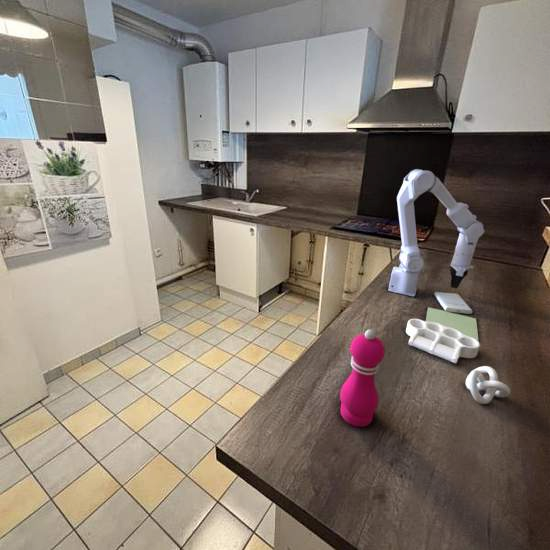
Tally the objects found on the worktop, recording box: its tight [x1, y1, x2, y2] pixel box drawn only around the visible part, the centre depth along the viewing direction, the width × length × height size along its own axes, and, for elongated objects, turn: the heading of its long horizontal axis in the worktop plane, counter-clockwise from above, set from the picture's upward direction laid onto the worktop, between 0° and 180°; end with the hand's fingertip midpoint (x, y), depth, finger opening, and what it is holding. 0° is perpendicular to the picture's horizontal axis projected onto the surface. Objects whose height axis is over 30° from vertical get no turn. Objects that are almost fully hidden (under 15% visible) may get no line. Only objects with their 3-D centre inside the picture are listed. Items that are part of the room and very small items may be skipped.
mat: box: [425, 306, 479, 342], centre depth 91 cm, size 14×14×1 cm
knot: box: [465, 365, 511, 405], centre depth 63 cm, size 8×8×6 cm
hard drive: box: [433, 291, 473, 315], centre depth 102 cm, size 2×8×12 cm
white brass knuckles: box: [405, 318, 481, 364], centre depth 80 cm, size 3×18×15 cm
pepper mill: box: [339, 329, 386, 428], centre depth 55 cm, size 7×7×20 cm
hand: (453, 287), depth 109 cm, fingers closed
